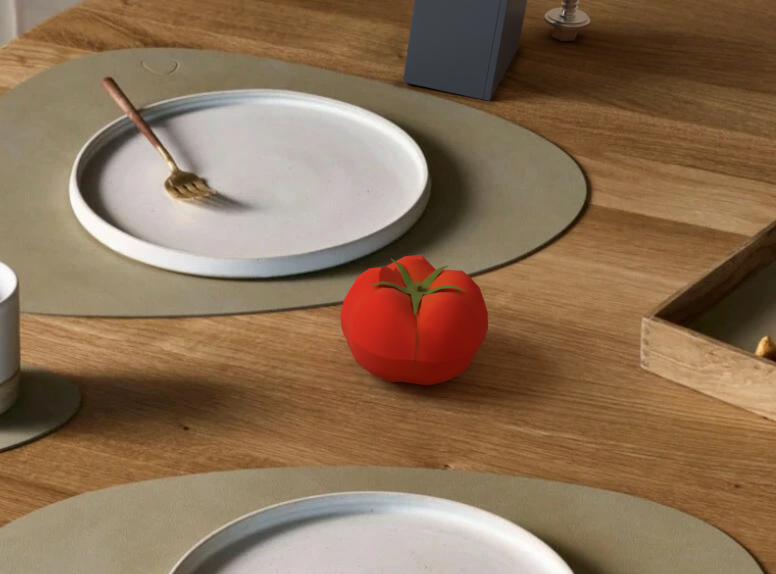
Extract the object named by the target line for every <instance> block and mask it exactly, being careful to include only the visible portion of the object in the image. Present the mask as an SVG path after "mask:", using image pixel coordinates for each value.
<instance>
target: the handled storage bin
mask: <svg viewBox="0 0 776 574" xmlns="http://www.w3.org/2000/svg"><path fill="white" fill-rule="evenodd" d="M527 3H528V0H413V8H412V16H411V22H410V29H409V36H408V44H407V51H406V57H405V65H404V72H403V80H402V82H403V83H405V84H409V85H414V86H419V87H423V88H428V89H433V90H437V91H442V92H446V93H451V94H457V95H460V96H464V97H470V98H474V99H478V100H484V101H488V102H491V100H492V98H493V96H494V95H495V93H496V91H497V89H498V87H499V85H500V83H501V81H502V79H503V78H504V75H505V73H506V72H507V70H508V68H509V65H511V62H512V61H513V58H514V57H515V55H516V53H517V51H518V49H519V46H520V40H521V36H522V30H523V26H524V25H523V24H524V19H525V15H526V9H527Z"/></svg>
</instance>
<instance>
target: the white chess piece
mask: <svg viewBox="0 0 776 574" xmlns="http://www.w3.org/2000/svg"><path fill="white" fill-rule="evenodd" d="M579 3H580V0H562V1H561V2H560V4H561V6H560V7H554V8H551V9H550V10H548V11H546V12H545V13H544V17H543V19H544V22H545V23H546V24H547V25H549V26H551V27H552V34H551V38H554V39H556V40H558V41H560V42H574V41H576V40H575V39H576V38H577V36H578V31H579V30H583V29H585V28H588V27H589V26H590V23H591V18H590V17H589V16H588V14H587V13H586V12H584V11H582V10H580V9H578V8H579V5H578V4H579Z"/></svg>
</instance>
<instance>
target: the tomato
mask: <svg viewBox="0 0 776 574" xmlns="http://www.w3.org/2000/svg"><path fill="white" fill-rule="evenodd" d="M390 260H391V261H392V263H390V264H388V265H385V266H381V267H370V268H368V269H366V270H365V271H363V272H362V273H361V274H359V275H358V276H357V277H356V279H355V280H354V281H353V284H352V285H351V287H350V288H349V290H348V292H347V293H346V295H345V297H344V299H343V302H342V306H341V310H340V314H339V315H340V326H341V327H340V329H341V331H342V334H343V336H344V338H345V340H346V343H347V345H348V348H349V350H350V352H351V355H352V356H353V357H352V358H354V361H355V363H356V364H357V365H359V366H360V367H362V368H363V369H364V370H365V371H366V372H368V373H370V374H371V375H372V376H373V377H376V378H379V379H381V380H384V381H387V382H391V383H392V382H393V383H407V384H408V383H409V384H415V385H421V386H431V385H437V384H441V383H444V382H447V381H449V380H451V379H453V378H455V377H458V376H460V375H462V374H464V372H465V371H466V370H467V368H469V366H470V364H471V363H472V361H473V359H474V358H475V355H476V354H477V352H478V351H479V349H480V347H481V346H483V344H484V341H485V340H486V336H487V333H488V331H489V311H488V308H487V305H486V302H485V298H484V296H483V293H482V290H481V287H480V286H479V285H478V284H477V283H476V282H475V281H474V280H473V279H472V277H471V276H470V275H468V274H467V273H466V272H465V271H463V270H458V269H446V268H448V267H449V264H448V265H445V266H442V267H438V268H437V269H436V268H435V267H434V266H433V265H432V264H431V263H430V262H429V261H428V259H426V258H425V257H424V255H422V254H415V255H405V256H403V257H401V258H399V259H397V260H395V259H392V258H391V257H390Z"/></svg>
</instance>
